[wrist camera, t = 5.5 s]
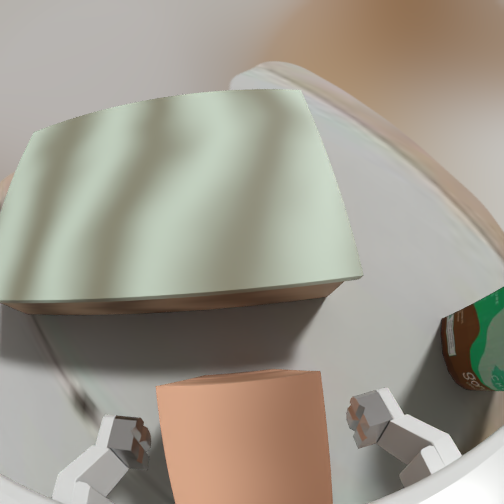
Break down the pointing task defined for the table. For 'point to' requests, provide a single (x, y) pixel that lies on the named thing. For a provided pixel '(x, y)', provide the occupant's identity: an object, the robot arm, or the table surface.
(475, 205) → the table surface
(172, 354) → the table surface
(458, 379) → the food container
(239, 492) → the tall block
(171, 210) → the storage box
